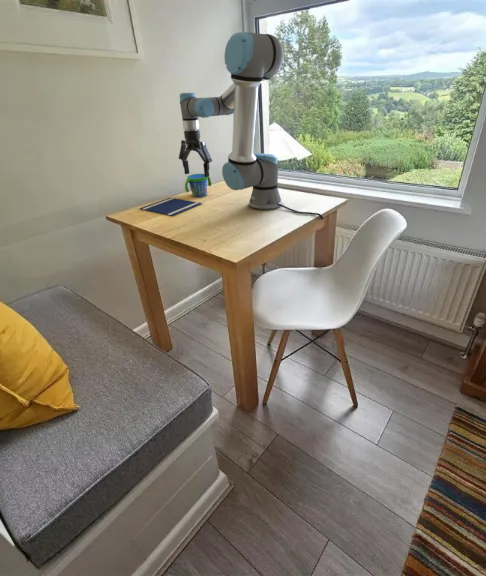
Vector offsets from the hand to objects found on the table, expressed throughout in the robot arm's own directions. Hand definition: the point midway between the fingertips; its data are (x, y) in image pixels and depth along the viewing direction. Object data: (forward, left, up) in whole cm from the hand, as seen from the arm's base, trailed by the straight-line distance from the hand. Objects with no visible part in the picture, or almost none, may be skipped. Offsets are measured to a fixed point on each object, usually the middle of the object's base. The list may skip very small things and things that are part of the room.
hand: (196, 175), depth 167 cm
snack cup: (0, 0, -11) cm, 11 cm away
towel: (0, +21, -11) cm, 24 cm away
